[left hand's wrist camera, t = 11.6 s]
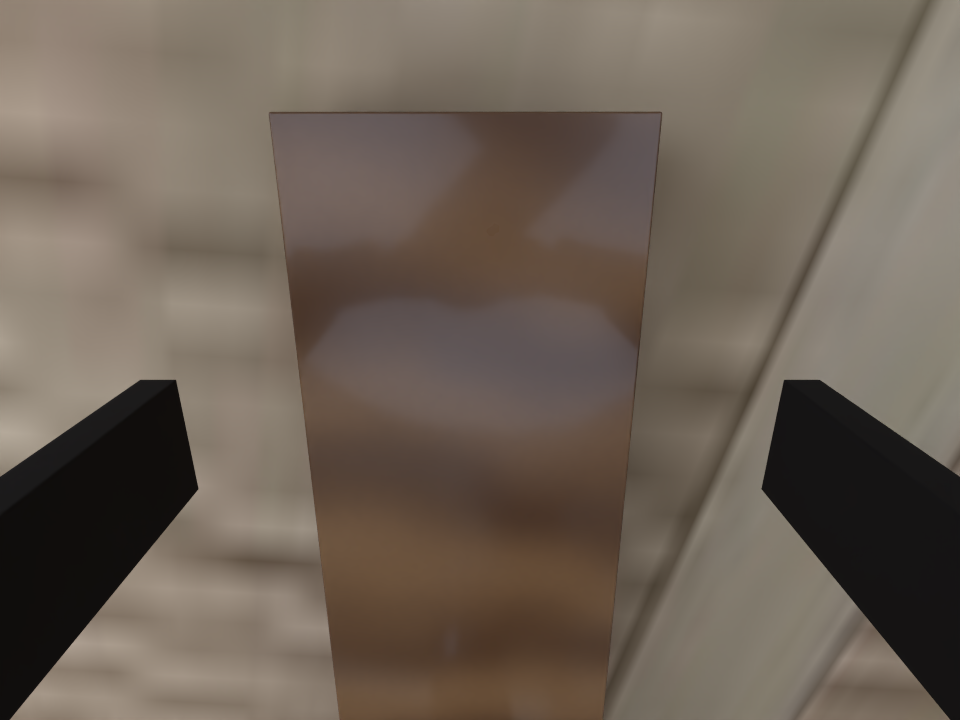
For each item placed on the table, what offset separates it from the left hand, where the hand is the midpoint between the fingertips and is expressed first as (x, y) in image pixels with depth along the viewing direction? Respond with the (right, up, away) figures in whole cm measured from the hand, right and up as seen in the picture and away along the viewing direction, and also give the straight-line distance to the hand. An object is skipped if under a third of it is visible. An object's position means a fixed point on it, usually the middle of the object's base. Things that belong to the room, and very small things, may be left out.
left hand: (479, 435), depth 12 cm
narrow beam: (0, -17, +17) cm, 24 cm away
